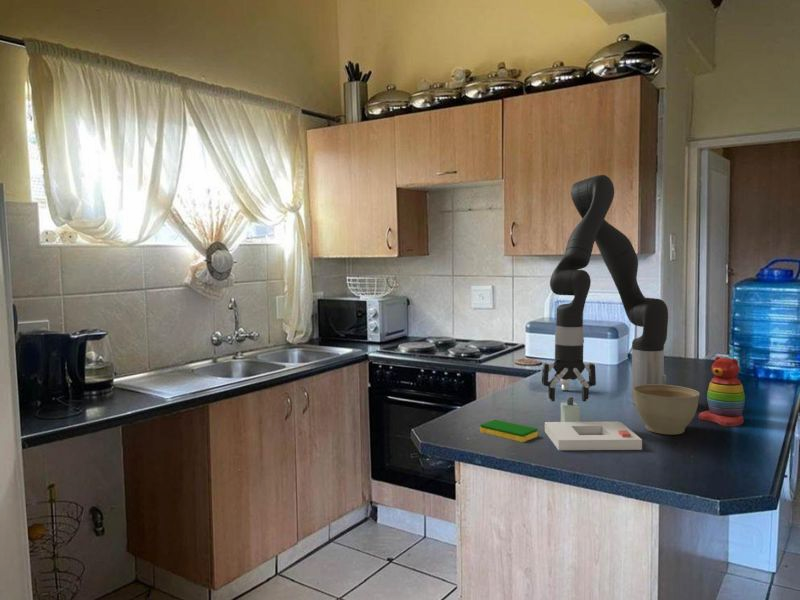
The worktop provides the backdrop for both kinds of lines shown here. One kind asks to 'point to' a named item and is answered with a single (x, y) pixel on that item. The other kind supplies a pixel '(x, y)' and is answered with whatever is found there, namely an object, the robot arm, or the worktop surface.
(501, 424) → the dish sponge
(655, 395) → the planter bowl
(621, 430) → the socket plate
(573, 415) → the plug
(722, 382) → the stacking bear
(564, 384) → the lightbulb
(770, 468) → the worktop surface
